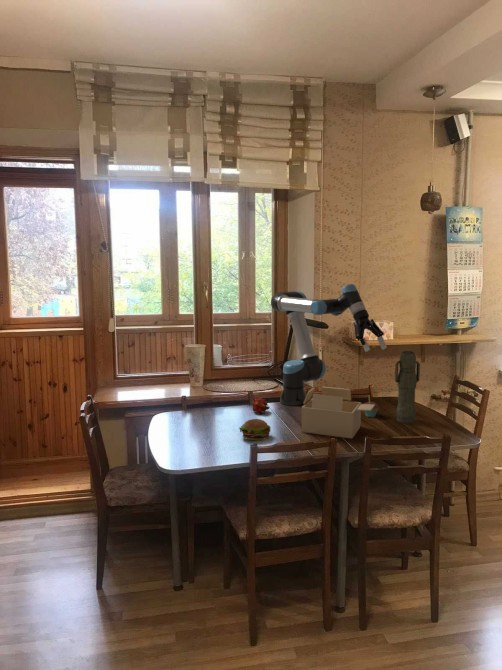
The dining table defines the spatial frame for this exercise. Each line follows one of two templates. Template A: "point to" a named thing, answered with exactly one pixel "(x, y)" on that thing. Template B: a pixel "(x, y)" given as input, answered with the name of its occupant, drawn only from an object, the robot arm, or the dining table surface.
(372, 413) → the cupcake
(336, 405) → the flap near
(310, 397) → the flap arm end
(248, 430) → the food
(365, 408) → the flap far end
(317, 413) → the carton
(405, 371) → the thermos
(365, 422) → the dining table surface
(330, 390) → the flap far
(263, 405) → the dragon fruit
